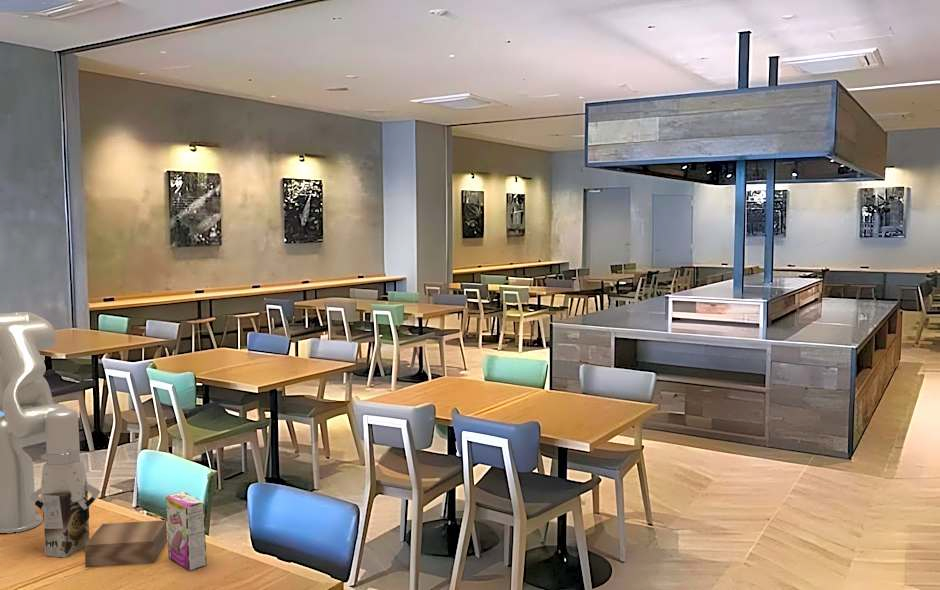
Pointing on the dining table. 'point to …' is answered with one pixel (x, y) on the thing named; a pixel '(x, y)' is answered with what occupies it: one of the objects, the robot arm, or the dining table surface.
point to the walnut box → (126, 543)
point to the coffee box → (63, 525)
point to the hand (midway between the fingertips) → (66, 523)
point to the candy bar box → (186, 530)
